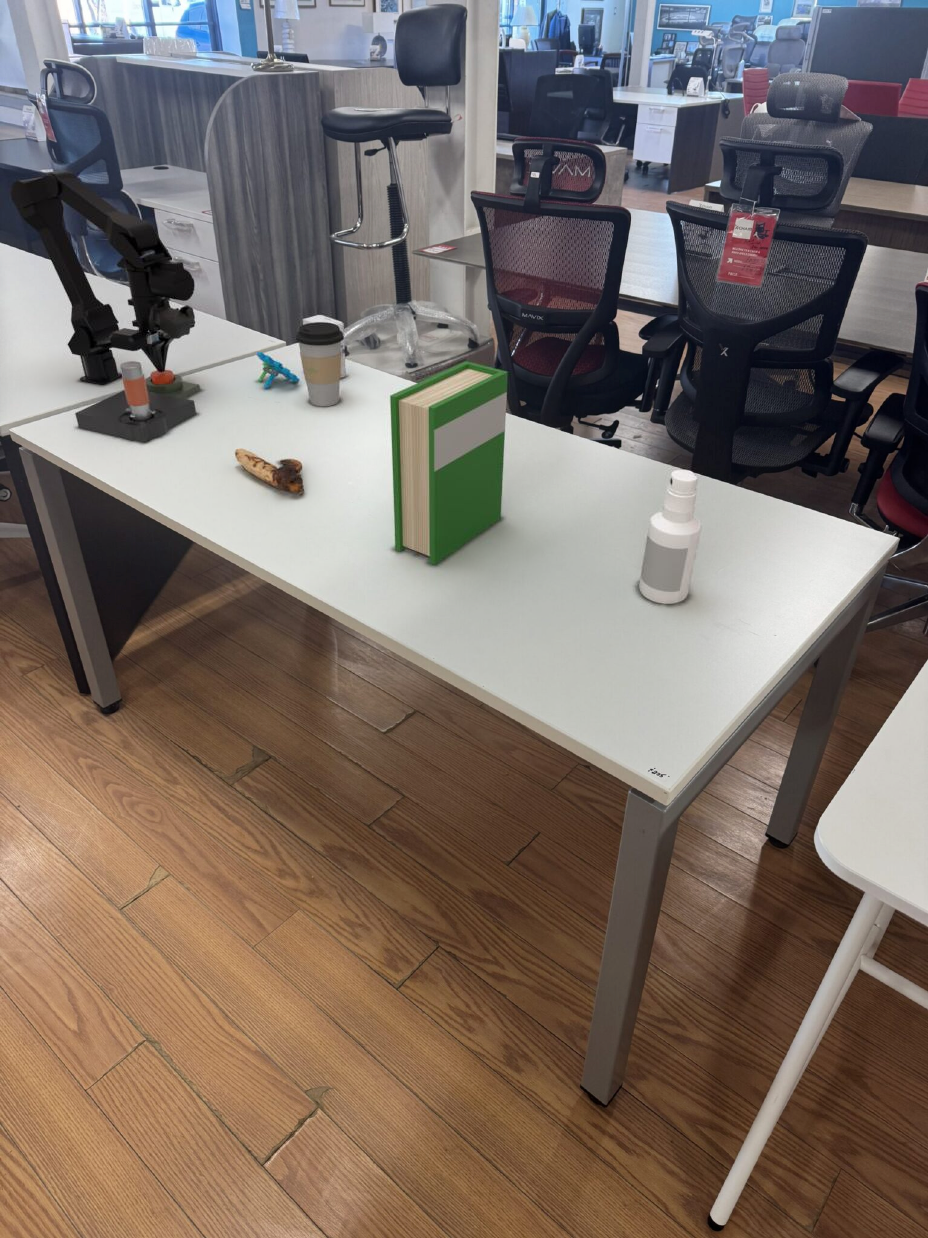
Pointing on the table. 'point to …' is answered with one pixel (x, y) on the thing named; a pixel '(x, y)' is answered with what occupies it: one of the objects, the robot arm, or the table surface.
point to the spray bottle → (672, 543)
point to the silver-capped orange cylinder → (136, 391)
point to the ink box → (341, 326)
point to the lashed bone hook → (273, 471)
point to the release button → (162, 377)
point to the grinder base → (118, 422)
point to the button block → (173, 387)
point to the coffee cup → (321, 361)
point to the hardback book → (448, 458)
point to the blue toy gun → (274, 370)
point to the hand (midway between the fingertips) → (161, 371)
